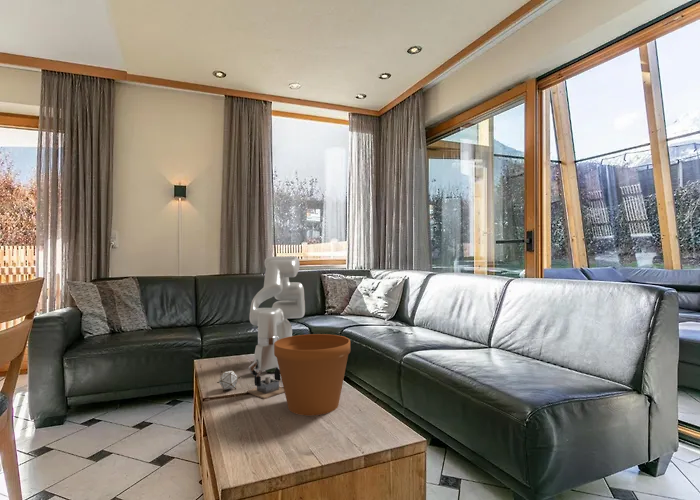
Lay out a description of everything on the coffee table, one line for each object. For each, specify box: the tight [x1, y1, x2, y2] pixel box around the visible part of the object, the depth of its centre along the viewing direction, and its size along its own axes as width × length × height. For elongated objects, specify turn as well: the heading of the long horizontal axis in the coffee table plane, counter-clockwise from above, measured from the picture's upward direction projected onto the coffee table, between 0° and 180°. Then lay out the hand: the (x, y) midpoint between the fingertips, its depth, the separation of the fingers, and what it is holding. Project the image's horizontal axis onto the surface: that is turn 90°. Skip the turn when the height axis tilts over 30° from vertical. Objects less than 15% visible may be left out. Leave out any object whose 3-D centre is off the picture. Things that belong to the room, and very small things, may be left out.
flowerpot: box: [274, 333, 352, 417], centre depth 145 cm, size 28×28×24 cm
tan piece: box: [246, 376, 285, 400], centre depth 160 cm, size 12×12×6 cm
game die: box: [216, 368, 241, 392], centre depth 164 cm, size 9×8×10 cm
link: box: [256, 378, 280, 394], centre depth 160 cm, size 6×6×4 cm
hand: (267, 382), depth 160 cm, fingers open, 9 cm apart
